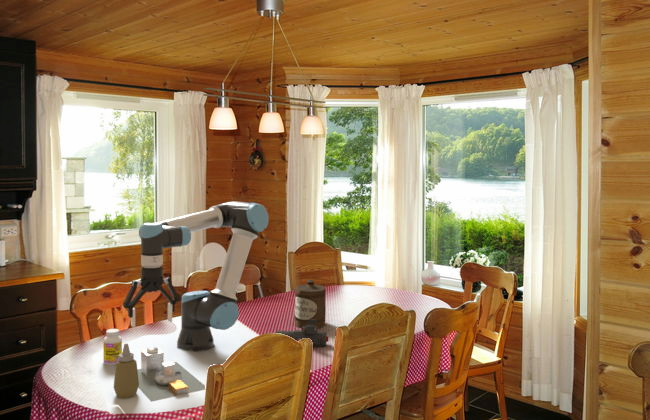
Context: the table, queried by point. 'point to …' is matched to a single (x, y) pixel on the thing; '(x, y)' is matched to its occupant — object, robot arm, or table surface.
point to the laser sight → (308, 334)
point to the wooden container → (310, 304)
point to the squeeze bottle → (126, 375)
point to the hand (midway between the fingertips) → (151, 323)
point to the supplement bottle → (112, 346)
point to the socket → (151, 361)
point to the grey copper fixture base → (171, 379)
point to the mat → (161, 392)
